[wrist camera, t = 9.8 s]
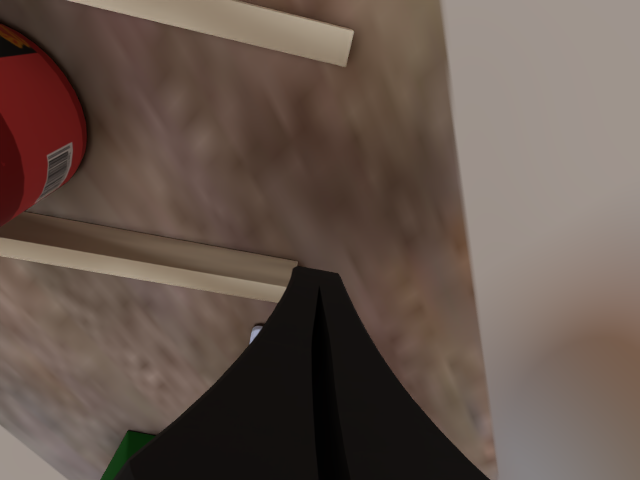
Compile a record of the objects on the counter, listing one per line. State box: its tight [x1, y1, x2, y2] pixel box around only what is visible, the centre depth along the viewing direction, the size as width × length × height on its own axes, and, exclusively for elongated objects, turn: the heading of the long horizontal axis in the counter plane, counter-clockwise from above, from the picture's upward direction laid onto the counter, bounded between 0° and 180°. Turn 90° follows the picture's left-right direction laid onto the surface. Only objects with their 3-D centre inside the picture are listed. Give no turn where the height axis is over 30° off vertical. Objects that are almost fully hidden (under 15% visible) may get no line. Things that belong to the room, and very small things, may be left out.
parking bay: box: [0, 0, 354, 303], centre depth 16 cm, size 13×23×3 cm, turn 78°
